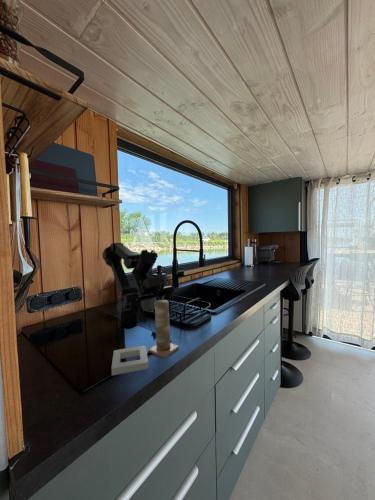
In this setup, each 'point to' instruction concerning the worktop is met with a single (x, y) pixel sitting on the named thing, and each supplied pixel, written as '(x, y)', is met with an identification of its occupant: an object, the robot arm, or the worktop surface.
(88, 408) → the worktop surface
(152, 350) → the tile
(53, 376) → the worktop surface
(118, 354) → the holder
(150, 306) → the coffeepot
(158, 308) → the peg
